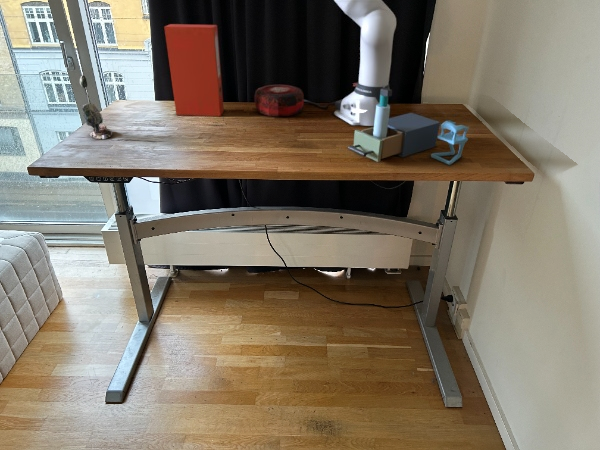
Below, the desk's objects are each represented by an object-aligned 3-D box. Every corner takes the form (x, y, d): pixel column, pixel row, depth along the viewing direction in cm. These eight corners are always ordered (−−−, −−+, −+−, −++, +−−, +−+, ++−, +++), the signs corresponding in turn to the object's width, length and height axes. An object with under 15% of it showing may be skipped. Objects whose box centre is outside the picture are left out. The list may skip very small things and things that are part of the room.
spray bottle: (368, 148, 139) (375, 88, 129) (378, 145, 141) (385, 86, 131) (378, 152, 136) (385, 91, 126) (387, 149, 138) (395, 89, 128)
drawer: (367, 165, 130) (369, 144, 127) (342, 153, 138) (344, 133, 134) (411, 151, 140) (414, 131, 137) (386, 140, 148) (388, 121, 144)
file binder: (181, 109, 177) (170, 23, 160) (223, 110, 177) (217, 24, 160) (176, 115, 170) (164, 26, 153) (220, 116, 170) (212, 27, 153)
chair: (466, 159, 137) (475, 122, 131) (449, 165, 133) (457, 127, 127) (447, 151, 143) (455, 115, 136) (430, 156, 139) (437, 120, 132)
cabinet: (402, 157, 138) (406, 132, 133) (374, 145, 146) (377, 121, 142) (435, 146, 146) (440, 122, 142) (407, 135, 155) (411, 112, 150)
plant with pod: (81, 142, 145) (64, 81, 134) (95, 130, 154) (81, 72, 144) (105, 142, 145) (90, 81, 134) (118, 131, 154) (105, 73, 144)
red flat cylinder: (313, 111, 177) (281, 100, 189) (314, 90, 173) (280, 80, 185) (277, 121, 165) (244, 109, 177) (277, 99, 161) (243, 88, 173)
